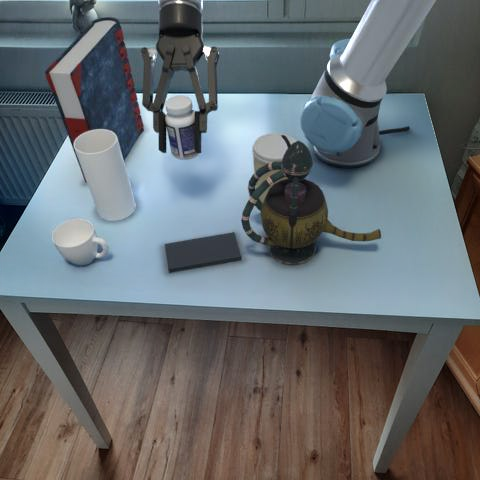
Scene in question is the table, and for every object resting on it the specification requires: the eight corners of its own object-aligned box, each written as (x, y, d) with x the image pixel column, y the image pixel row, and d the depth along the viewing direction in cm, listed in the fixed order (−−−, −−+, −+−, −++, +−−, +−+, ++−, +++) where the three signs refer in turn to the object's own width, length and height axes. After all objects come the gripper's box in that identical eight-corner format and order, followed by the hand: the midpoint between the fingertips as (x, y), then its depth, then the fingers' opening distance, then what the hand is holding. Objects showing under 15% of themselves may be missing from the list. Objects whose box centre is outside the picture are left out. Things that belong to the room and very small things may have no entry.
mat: (234, 235, 94) (234, 231, 94) (241, 260, 90) (241, 256, 89) (165, 247, 93) (164, 243, 92) (169, 272, 89) (168, 269, 88)
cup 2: (74, 241, 95) (63, 216, 90) (120, 248, 94) (111, 222, 88) (57, 269, 91) (44, 244, 85) (105, 276, 89) (94, 251, 84)
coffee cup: (303, 202, 100) (308, 151, 90) (263, 214, 98) (263, 164, 88) (284, 177, 105) (287, 127, 95) (246, 188, 103) (244, 138, 93)
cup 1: (141, 198, 103) (124, 131, 90) (126, 223, 98) (105, 156, 85) (107, 193, 104) (85, 126, 91) (91, 217, 99) (65, 150, 87)
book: (123, 123, 121) (95, 15, 102) (148, 125, 120) (125, 16, 100) (83, 183, 107) (41, 71, 87) (111, 186, 106) (75, 73, 86)
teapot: (250, 224, 96) (246, 117, 77) (375, 232, 93) (402, 122, 75) (242, 267, 89) (236, 161, 70) (377, 277, 86) (408, 168, 67)
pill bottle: (203, 144, 91) (197, 93, 83) (198, 161, 88) (191, 111, 80) (174, 142, 92) (166, 92, 84) (168, 160, 88) (158, 110, 80)
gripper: (236, 21, 84) (233, 155, 87) (134, 23, 86) (135, 155, 89) (232, -1, 77) (229, 147, 80) (120, 1, 78) (122, 146, 82)
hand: (180, 151), depth 85 cm, fingers closed on pill bottle, 6 cm apart
